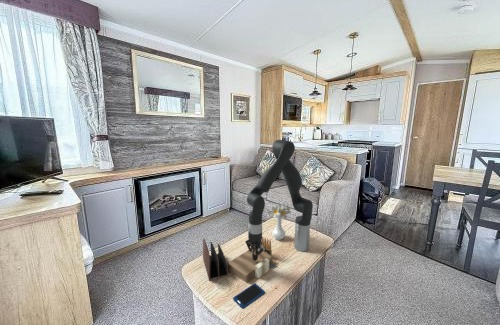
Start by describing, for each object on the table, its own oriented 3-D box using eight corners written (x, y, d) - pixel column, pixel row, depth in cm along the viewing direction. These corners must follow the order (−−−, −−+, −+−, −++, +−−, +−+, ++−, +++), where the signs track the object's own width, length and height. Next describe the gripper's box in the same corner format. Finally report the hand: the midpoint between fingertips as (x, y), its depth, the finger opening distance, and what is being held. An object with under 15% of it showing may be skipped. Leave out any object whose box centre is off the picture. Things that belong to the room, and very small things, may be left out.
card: (265, 258, 112) (269, 260, 110) (265, 267, 113) (269, 270, 111) (254, 265, 105) (258, 268, 104) (254, 276, 106) (258, 278, 105)
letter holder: (209, 281, 103) (208, 256, 101) (202, 258, 121) (202, 236, 119) (228, 276, 107) (227, 251, 105) (219, 255, 125) (218, 233, 123)
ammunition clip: (255, 252, 127) (256, 234, 126) (257, 251, 129) (257, 233, 127) (270, 259, 121) (270, 240, 119) (271, 257, 122) (272, 239, 120)
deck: (254, 252, 127) (254, 246, 127) (272, 262, 118) (272, 256, 117) (227, 269, 112) (227, 263, 111) (245, 282, 102) (245, 275, 101)
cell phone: (232, 299, 92) (232, 297, 92) (255, 283, 101) (255, 282, 101) (242, 310, 87) (242, 308, 86) (265, 292, 96) (265, 291, 95)
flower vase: (262, 236, 147) (262, 203, 143) (284, 231, 154) (285, 199, 150) (271, 245, 135) (271, 209, 131) (294, 240, 142) (295, 205, 138)
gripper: (269, 231, 107) (268, 261, 110) (250, 223, 116) (250, 251, 119) (260, 237, 102) (259, 268, 104) (241, 228, 110) (241, 257, 113)
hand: (254, 259), depth 111 cm, fingers closed
